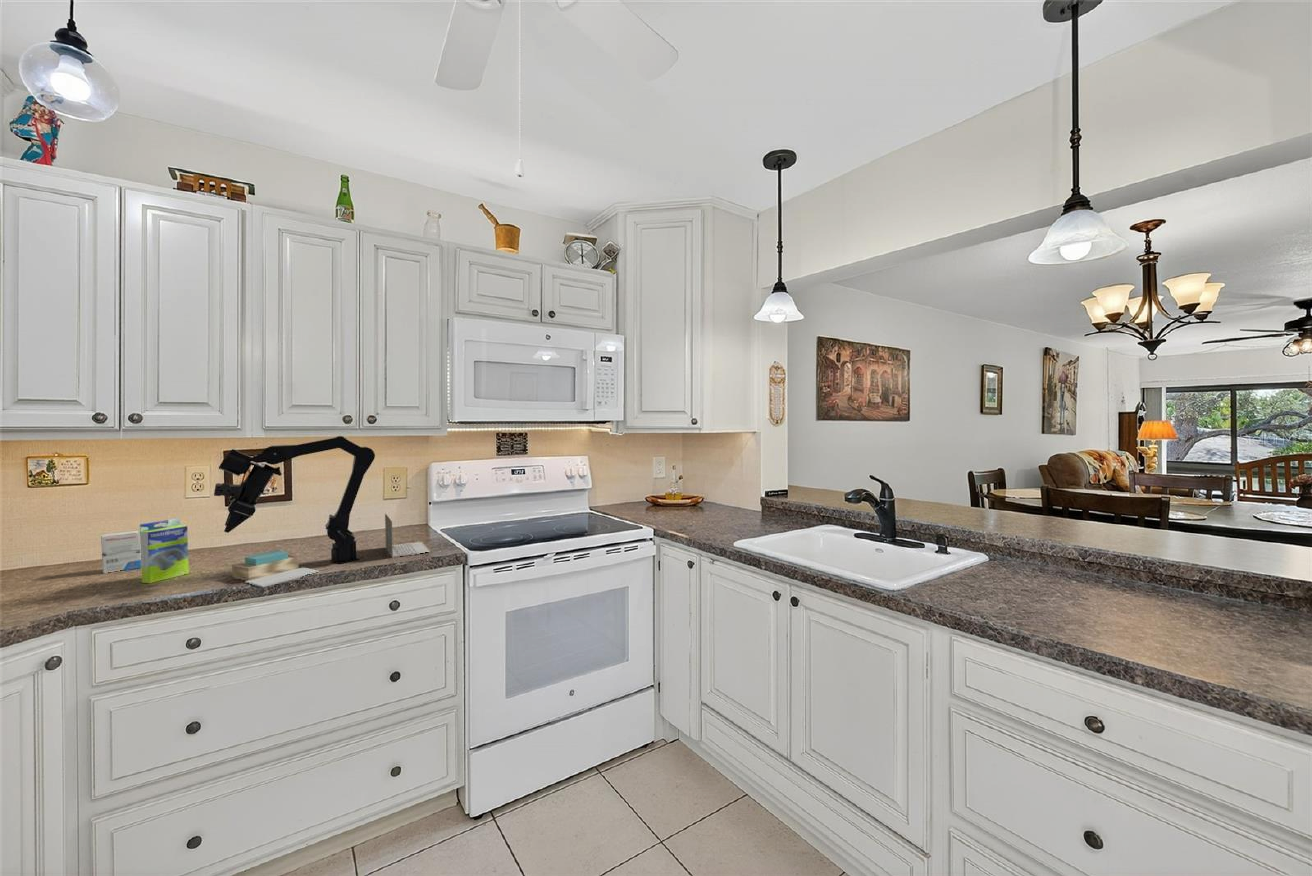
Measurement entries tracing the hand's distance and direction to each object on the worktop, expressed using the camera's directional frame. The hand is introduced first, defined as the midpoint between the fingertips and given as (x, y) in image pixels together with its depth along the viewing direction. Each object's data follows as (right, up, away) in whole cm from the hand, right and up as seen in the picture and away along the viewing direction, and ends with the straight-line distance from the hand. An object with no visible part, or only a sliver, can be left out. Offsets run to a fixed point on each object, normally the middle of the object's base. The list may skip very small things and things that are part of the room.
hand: (226, 528), depth 159 cm
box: (-17, -15, -1) cm, 23 cm away
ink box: (-40, -15, +8) cm, 43 cm away
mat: (+18, -15, -1) cm, 23 cm away
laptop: (+40, -14, +31) cm, 53 cm away
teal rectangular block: (+10, -10, +3) cm, 15 cm away
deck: (+10, -14, +3) cm, 18 cm away
